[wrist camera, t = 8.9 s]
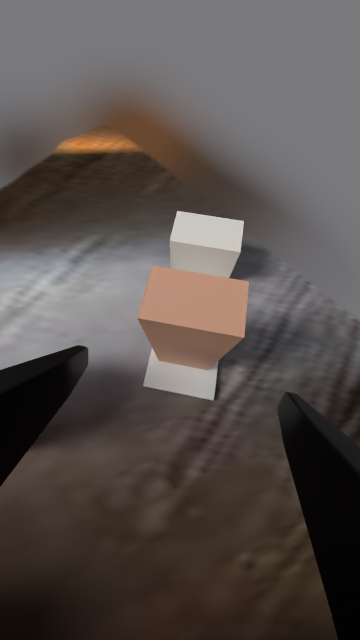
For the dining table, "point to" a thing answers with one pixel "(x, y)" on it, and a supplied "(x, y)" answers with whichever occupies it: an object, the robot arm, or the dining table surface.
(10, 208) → the dining table surface
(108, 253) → the dining table surface
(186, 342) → the stub
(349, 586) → the robot arm
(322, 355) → the dining table surface
